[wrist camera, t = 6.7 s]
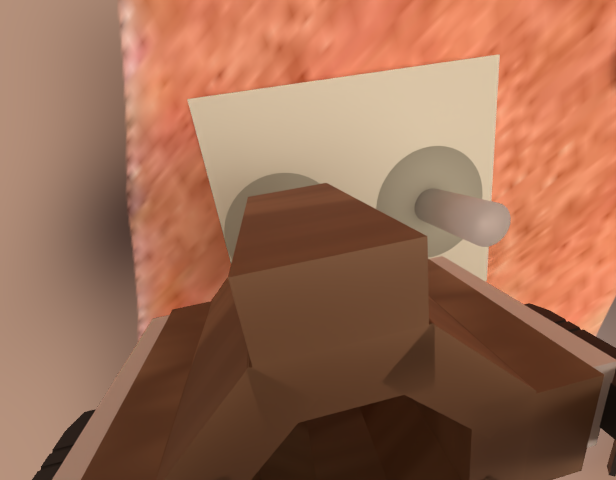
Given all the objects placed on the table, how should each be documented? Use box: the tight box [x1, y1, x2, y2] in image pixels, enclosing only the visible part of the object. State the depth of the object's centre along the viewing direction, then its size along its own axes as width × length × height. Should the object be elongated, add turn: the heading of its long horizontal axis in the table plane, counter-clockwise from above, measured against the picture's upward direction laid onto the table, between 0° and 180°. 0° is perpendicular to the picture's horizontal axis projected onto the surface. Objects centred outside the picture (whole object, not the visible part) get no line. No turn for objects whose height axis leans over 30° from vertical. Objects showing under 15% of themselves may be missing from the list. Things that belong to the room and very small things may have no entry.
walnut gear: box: [81, 183, 604, 480], centre depth 9 cm, size 11×11×7 cm
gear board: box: [187, 54, 510, 281], centre depth 22 cm, size 20×24×9 cm
